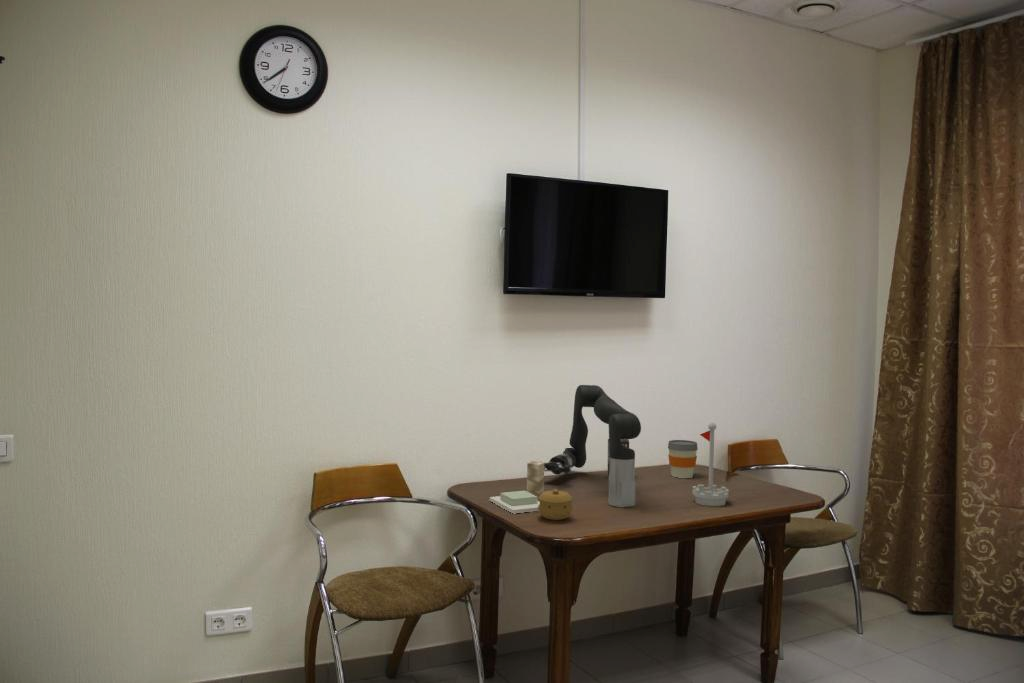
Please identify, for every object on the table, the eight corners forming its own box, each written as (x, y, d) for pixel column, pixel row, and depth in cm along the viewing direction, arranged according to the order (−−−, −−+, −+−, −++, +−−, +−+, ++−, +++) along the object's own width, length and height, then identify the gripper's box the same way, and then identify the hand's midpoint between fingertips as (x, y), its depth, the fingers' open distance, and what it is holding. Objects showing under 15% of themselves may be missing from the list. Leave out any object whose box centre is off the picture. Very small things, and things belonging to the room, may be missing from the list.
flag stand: (734, 502, 287) (737, 423, 286) (716, 508, 278) (719, 426, 277) (703, 496, 296) (706, 419, 295) (685, 502, 287) (687, 422, 286)
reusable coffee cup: (663, 473, 338) (664, 439, 337) (691, 473, 339) (691, 439, 339) (672, 479, 325) (673, 444, 325) (701, 479, 327) (702, 444, 326)
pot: (574, 523, 256) (575, 493, 255) (539, 523, 255) (540, 493, 254) (569, 513, 267) (570, 485, 267) (535, 514, 266) (536, 485, 266)
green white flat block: (548, 510, 271) (549, 499, 271) (513, 514, 265) (513, 502, 265) (523, 497, 289) (523, 487, 289) (489, 501, 283) (489, 490, 283)
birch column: (543, 493, 297) (544, 462, 297) (538, 496, 293) (539, 464, 292) (531, 491, 299) (532, 461, 299) (526, 494, 295) (527, 463, 294)
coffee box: (628, 476, 332) (629, 439, 331) (629, 479, 325) (629, 441, 325) (606, 475, 332) (607, 438, 332) (607, 478, 326) (608, 440, 325)
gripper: (545, 453, 323) (529, 459, 308) (577, 456, 317) (563, 463, 302) (544, 471, 323) (529, 478, 309) (576, 474, 317) (562, 482, 303)
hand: (546, 470), depth 305 cm, fingers open, 8 cm apart
